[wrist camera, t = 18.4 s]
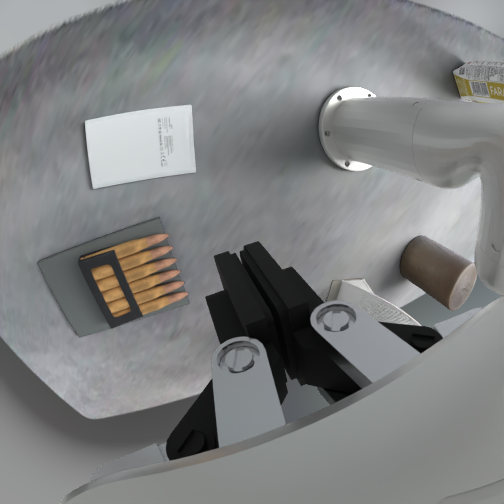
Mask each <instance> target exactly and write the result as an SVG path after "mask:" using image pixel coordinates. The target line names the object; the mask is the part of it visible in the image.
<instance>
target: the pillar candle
mask: <svg viewBox="0 0 504 504" xmlns="http://www.w3.org/2000/svg"><path fill="white" fill-rule="evenodd" d="M400 272H401V275H402V276H403V277H405V278H406V279H408V280H409V281H411V282H412V283H413V284H415V285H416V286H418V287H419V288H421V289H422V290H423V291H425V292H426V293H427V294H429V295H430V296H432V297H433V298H434V299H436V300H437V301H438V302H440V303H441V304H442V305H444V306H445V307H447V308H448V309H449V310H452V311H454V310H456V309H458V308H459V307H460V306H461V305H462V304H463V303H464V302H465V301H466V299H467V298H468V296H469V294H470V293H471V291H472V289H473V287H474V284H475V281H476V277H477V271H476V267H475V264H474V263H472V262H470V261H469V260H467V259H465V258H463V257H462V256H460V255H458V254H456V253H455V252H453V251H451V250H449V249H448V248H446V247H444V246H442V245H441V244H439V243H437V242H435V241H433V240H431V239H429V238H427V237H425V236H418V237H416V238H414V239H413V240H412V241H411V242H410V243H409V244H408V246H407V248H406V250H405V251H404V254H403V256H402V258H401V262H400Z"/></svg>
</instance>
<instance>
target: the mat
mask: <svg viewBox="0 0 504 504" xmlns="http://www.w3.org/2000/svg"><path fill="white" fill-rule="evenodd" d="M156 234H165V232H164V229H163V226H162V223H161V220H160V217H158V218H155V219H152V220H149V221H146V222H143V223H140V224H137V225H134V226H131V227H128V228H125V229H123V230H120V231H117V232H114V233H111V234H108V235H105V236H103V237H100V238H97V239H94V240H92V241H89V242H86V243H84V244H81V245H78V246H76V247H73V248H70V249H68V250H65V251H63V252H60V253H57V254H55V255H52V256H50V257H47V258H45V259H42V260H40V261H38V265H39V267H40V269H41V271H42V273H43V275H44V277H45V279H46V281H47V283H48V285H49V287H50V289H51V291H52V293H53V294H54V296H55V298H56V300H57V302H58V303H59V305H60V307H61V309H62V310H63V312H64V314H65V315H66V317H67V319H68V320H69V322H70V324H71V325H72V327H73V329H74V330H75V332H76V333H77V335H78V336H79V338H80V337H83V336H86V335H90V334H93V333H96V332H100V331H103V330H106V329H110V326H109V325H108V323H107V321H106V319H105V317H104V316H103V314H102V312H101V310H100V308H99V306H98V304H97V302H96V300H95V299H94V297H93V295H92V293H91V291H90V289H89V287H88V285H87V283H86V280H85V278H84V276H83V274H82V272H81V270H80V268H79V266H78V260H79V258H80V256H81V255H84V254H87V253H90V252H94V251H97V250H100V249H103V248H107V247H110V246H113V245H115V246H116V245H119V244H122V243H125V242H128V241H131V240H135V239H141V238H144V237H148V236H152V235H156ZM164 246H169V245H168V242H167V238H166V239H164V240H163V241H161V242H159V243H157V244H155V245H152V246H149V247H147V248H145V249H142V250H141V251H139V252H143V251H147V250H151V249H154V248H158V247H164ZM169 258H173V256H172V253H171V250H170V251H169V252H167V253H166V254H164V255H162V256H160V257H157V258H155V259H153V260H150V261H147V262H146V263H144V264H148V263H152V262H156V261H159V260H163V259H169ZM170 270H177V268H176V265H175V262H174V263H173V264H171V265H170V266H168V267H166V268H164V269H161V270H158V271H156V272H154V273H151V274H150V275H154V274H158V273H162V272H165V271H170ZM148 276H149V275H148ZM177 281H181V279H180V276H179V274H178V275H176V276H175V277H173V278H171V279H169V280H166V281H164V282H161V283H159V284H156V285H155V286H160V285H164V284H167V283H171V282H177ZM155 286H153V287H155ZM179 292H185V290H184V287H183V285H182V286H181V287H179V288H177V289H175V290H173V291H171V292H168V293H166V294H164V295H161V296H159V297H163V296H167V295H171V294H174V293H179ZM186 304H189V301H188V298H187V296H185V297H184V298H182V299H181V300H179V301H177V302H174V303H171V304H169V305H167V306H164V307H163V308H161V309H159V310H156V311H153V312H150V313H147V314H144V315H143V317H141V318H138V319H136V320H139V319H142V318H145V317H149V316H152V315H155V314H158V313H161V312H164V311H168V310H171V309H174V308H177V307H180V306H183V305H186ZM136 320H133V321H136ZM133 321H130V322H133ZM128 323H129V322H128ZM125 324H126V323H125ZM122 325H123V324H122Z"/></svg>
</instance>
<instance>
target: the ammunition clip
mask: <svg viewBox="0 0 504 504" xmlns="http://www.w3.org/2000/svg"><path fill="white" fill-rule="evenodd" d="M168 236H169V234H156V235H152V236H148V237H144V238H141V239H135V240H131V241H128V242H125V243H122V244H119V245H116V246H115V245H113V246H110V247H107V248H103V249H100V250H97V251H94V252H90V253H87V254H84V255H81V256H80V258H79V260H78V266H79V268H80V270H81V272H82V274H83V276H84V278H85V280H86V283H87V285H88V287H89V289H90V291H91V293H92V295H93V297H94V299H95V300H96V302H97V304H98V306H99V308H100V310H101V312H102V314H103V316H104V317H105V319H106V321H107V323H108V325H109V326H110V328H114V327H117V326H120V325H122V324H125V323H128V322H130V321H133V320H136V319H138V318H141V317H143V315H144V314H147V313H150V312H153V311H156V310H159V309H161V308H163V307H164V306H167V305H169V304H171V303H174V302H177V301H179V300H181V299H182V298H184V297H185V296H187V295H188V292H179V293H174V294H171V295H167V296H163V297H159V296H161V295H164V294H166V293H168V292H171V291H173V290H175V289H177V288H179V287H181V286H182V285H183V284H184V283H185V282H183V281H177V282H171V283H167V284H164V285H160V286H155V285H156V284H159V283H161V282H164V281H166V280H169V279H171V278H173V277H175V276H176V275H178V274H179V273H180V272H181V271H180V270H170V271H165V272H162V273H158V274H154V275H150V274H151V273H154V272H156V271H158V270H161V269H164V268H166V267H168V266H170V265H171V264H173V263H174V262H176V261H177V259H175V258H169V259H163V260H159V261H156V262H152V263H148V264H144V263H146V262H147V261H150V260H153V259H155V258H157V257H160V256H162V255H164V254H166V253H167V252H169V251H170V250H172V249H173V247H172V246H164V247H158V248H154V249H151V250H147V251H143V252H139V251H141V250H142V249H145V248H147V247H149V246H152V245H155V244H157V243H159V242H161V241H163V240H164V239H166V238H167V237H168ZM148 275H149V276H148ZM153 286H155V287H153Z"/></svg>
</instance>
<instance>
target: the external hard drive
mask: <svg viewBox="0 0 504 504" xmlns="http://www.w3.org/2000/svg"><path fill="white" fill-rule="evenodd" d="M85 131H86V141H87V150H88V158H89V166H90V173H91V180H92V186H93V189H97V188H102V187H107V186H112V185H118V184H123V183H129V182H134V181H140V180H146V179H152V178H159V177H166V176H172V175H179V174H186V173H195V172H196V165H195V153H194V138H193V121H192V105H182V106H172V107H163V108H155V109H147V110H140V111H134V112H127V113H121V114H116V115H110V116H105V117H101V118H96V119H91V120H87V121H85Z"/></svg>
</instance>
